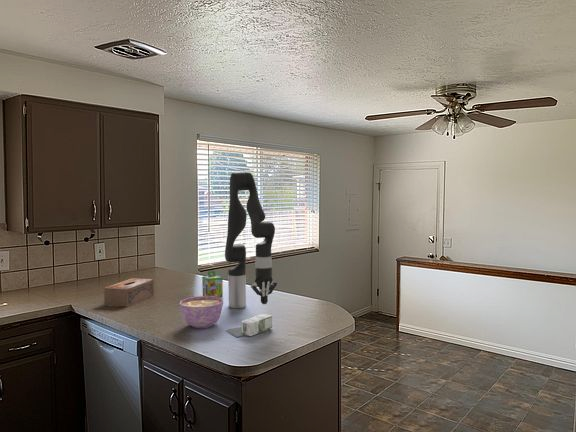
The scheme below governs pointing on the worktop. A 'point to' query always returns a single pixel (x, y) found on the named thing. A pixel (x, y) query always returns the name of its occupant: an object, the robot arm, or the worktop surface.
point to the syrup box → (256, 324)
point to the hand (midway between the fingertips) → (264, 303)
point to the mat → (238, 332)
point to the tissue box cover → (128, 292)
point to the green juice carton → (212, 285)
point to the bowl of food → (201, 310)
